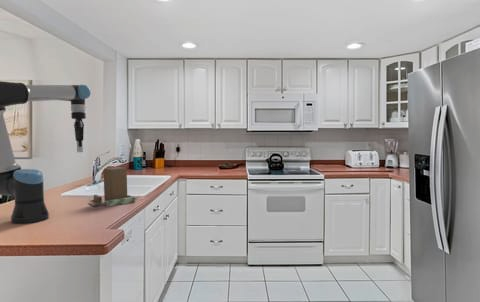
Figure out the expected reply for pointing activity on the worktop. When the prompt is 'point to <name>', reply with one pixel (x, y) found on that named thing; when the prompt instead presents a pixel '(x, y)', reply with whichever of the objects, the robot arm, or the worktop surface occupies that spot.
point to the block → (115, 183)
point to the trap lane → (112, 201)
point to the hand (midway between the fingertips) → (79, 152)
